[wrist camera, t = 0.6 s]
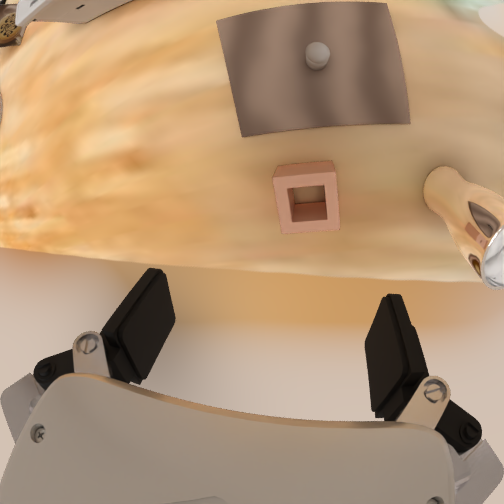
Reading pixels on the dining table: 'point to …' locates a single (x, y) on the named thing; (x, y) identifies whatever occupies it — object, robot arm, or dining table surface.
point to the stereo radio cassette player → (63, 10)
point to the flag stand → (0, 107)
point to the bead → (307, 214)
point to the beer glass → (470, 221)
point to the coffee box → (9, 26)
